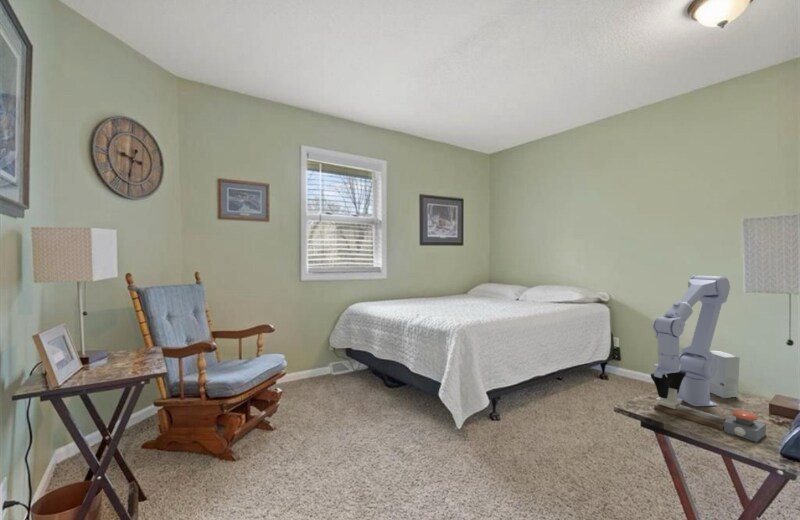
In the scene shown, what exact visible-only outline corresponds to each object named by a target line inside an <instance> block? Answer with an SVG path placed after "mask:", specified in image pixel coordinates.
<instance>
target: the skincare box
mask: <svg viewBox="0 0 800 520" xmlns="http://www.w3.org/2000/svg"><path fill="white" fill-rule="evenodd" d="M709 351H710V352H711V353H712V354H713V355H714V356H715V357H716V358H717V372H716V375H715V376H714V377H713V378H711V379H710V393H711V394H713V395H715V396H718V397H720V398H723V399H730V398H731V397H736V398H739V397H738V396H739V377H740V375H739V374H740V373H739V372H740V356H737V355H734V354H731V353H729V352H725V351H720V350H709ZM731 399H732V398H731Z"/></svg>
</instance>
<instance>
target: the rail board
mask: <svg viewBox="0 0 800 520" xmlns="http://www.w3.org/2000/svg"><path fill="white" fill-rule="evenodd" d="M653 407H654V409H655V410H658V411H661V412H664V413H667V414H670V415H673V416H676V417H680V418H683V419H685V420H689V421H692V422H695V423H699V424H700V425H701V424H702V425H704V426H708V427H711V428H715V429H716V430H717V429H718V430H720V431H724V421H725V420H727V418H726V417H724V416H720V415H717V414H713V413H710V412H705V411H703V410H699V409H696V408H692V407H688V406H686V405H682V404H680V405H679V404H677V405H676V409H673V408H669V407H666V406H663V405H660V404H658V403H655V404H654V406H653Z"/></svg>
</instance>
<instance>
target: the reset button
mask: <svg viewBox="0 0 800 520" xmlns="http://www.w3.org/2000/svg"><path fill="white" fill-rule="evenodd" d="M733 415H734V416H735V417H736V423H739V424H743V425H746V426H749V427H751V426H753V421H756V422H757V421H758V415H757V414H755V413H752V412H750V411H746V410H739V409H735V410H732V416H733Z"/></svg>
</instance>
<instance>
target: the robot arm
mask: <svg viewBox="0 0 800 520" xmlns="http://www.w3.org/2000/svg"><path fill="white" fill-rule="evenodd" d="M687 286H688V287H687V288H688V289H687V291H686V292H685V293H684V295H683V296H682V298H681V300H680V301H675V302H674V303H673V304H672V305H670V307H669V308H668V310H667V311H666V312H665V313H664V315H663V316H659V317H657V318H656V319H655V320H654V321H653V325H652V328H653V331H654V333H655V338H656V339H657V363H654V364H653V367H654V368H655V370H653V373H651V374H650V378H651V379H652V381H653V383H654V385H655V388H656V392H657V394H658V397H661V398H665V399H666V398H667V397H668V391H669V388H672V389H676V390H677V398H678V399H682V402H685V403H686V404H689V405H690V406H693V407H712V406H713V407H715V406H718V403H715V402H714V401H712V400H711V394H710V379H711V378H713V377H714V376H715V375H716V372H717V358H716V357H715V356H714V355H713V354H712V353H711V352H710V351H711V346H712V344H713V343H712V342H713V338H714V334H715V331H716V327H717V323H718V320H719V316H720V313H721V309H722V306H723V305H722V304H725V303H726V302H727V300H728V299H729V298H728V297H729V294H730V290H731V285H730V281H729V279H728V278H727V277H726V276H724V275H721V276H719V275H718V276H717V275H715V276H714V275H699V274H698V275H697V274H693V275H691V276H690V278H689V280H688V281H687ZM698 302H701V307H700V312H699V314H698V318H697V322H696V326H695V328H694V332H693V337H692V339H691V343H690V345H689V346H685V347H684V348H681V351H680V336H681V335H683V333H684V330H685V329H684V328H685V326H686V321H688V319H689V318H690V317H691V315H692V314H693V312H694V311H693V307H694V306H695V305H696V304H697V303H698Z"/></svg>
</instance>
